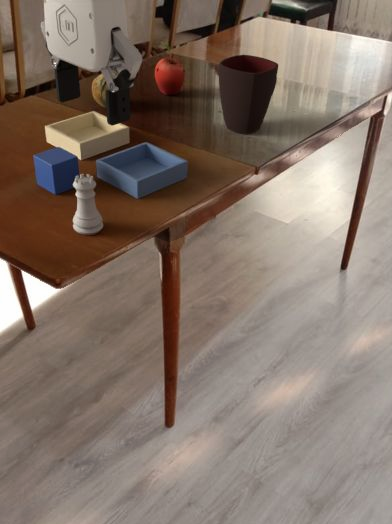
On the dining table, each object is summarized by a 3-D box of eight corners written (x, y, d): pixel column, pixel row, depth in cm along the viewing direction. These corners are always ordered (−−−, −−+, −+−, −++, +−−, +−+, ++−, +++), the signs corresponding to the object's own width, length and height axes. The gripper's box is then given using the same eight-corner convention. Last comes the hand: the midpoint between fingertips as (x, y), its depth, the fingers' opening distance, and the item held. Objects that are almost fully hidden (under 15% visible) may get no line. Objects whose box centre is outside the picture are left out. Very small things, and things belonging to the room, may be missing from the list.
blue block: (55, 195, 100) (51, 165, 96) (37, 184, 102) (32, 155, 99) (80, 185, 102) (77, 156, 99) (62, 175, 105) (58, 146, 102)
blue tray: (137, 199, 100) (137, 181, 98) (97, 177, 105) (95, 160, 103) (187, 177, 106) (187, 160, 104) (146, 158, 111) (146, 141, 109)
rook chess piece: (66, 229, 92) (60, 179, 86) (87, 217, 95) (82, 167, 89) (89, 239, 90) (85, 188, 85) (109, 226, 93) (106, 176, 88)
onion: (139, 105, 130) (138, 64, 125) (114, 116, 125) (112, 74, 120) (111, 96, 133) (108, 56, 128) (85, 107, 128) (82, 66, 123)
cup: (207, 128, 122) (211, 63, 114) (247, 109, 130) (253, 47, 123) (249, 142, 118) (256, 76, 110) (288, 122, 126) (297, 59, 118)
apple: (191, 91, 137) (192, 42, 130) (177, 101, 132) (178, 51, 126) (159, 85, 139) (159, 37, 133) (145, 95, 134) (144, 45, 128)
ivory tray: (81, 160, 109) (79, 143, 107) (46, 142, 114) (44, 125, 112) (129, 143, 116) (129, 127, 114) (94, 126, 121) (93, 110, 119)
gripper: (5, -60, 69) (27, 98, 80) (106, -33, 60) (115, 140, 71) (61, -66, 73) (74, 85, 84) (163, -41, 64) (163, 123, 76)
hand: (93, 110), depth 78 cm, fingers open, 9 cm apart
